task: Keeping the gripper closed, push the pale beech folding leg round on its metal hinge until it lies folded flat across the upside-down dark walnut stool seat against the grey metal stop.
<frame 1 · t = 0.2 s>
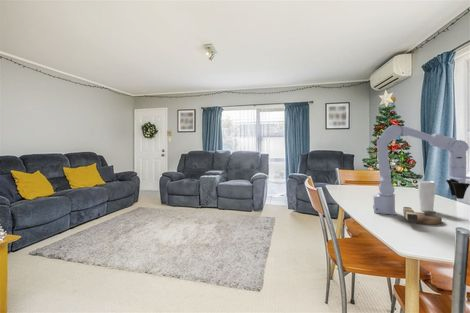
hand: (457, 196, 106), 10 cm above the table, tool pointing down, fingers open, 7 cm apart
drinking glass: (426, 211, 120), on the table
folding leg: (409, 214, 103), point 4 cm above the table, hinge at -90.0°
stool seat: (422, 220, 106), on the table
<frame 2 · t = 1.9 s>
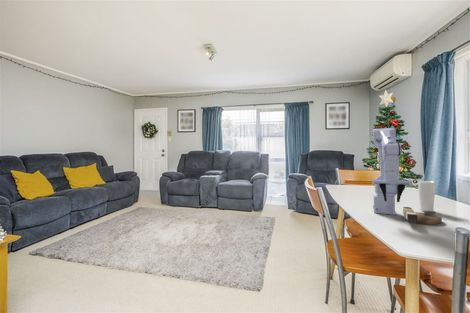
hand: (391, 201, 104), 9 cm above the table, tool pointing down, fingers open, 4 cm apart
nothing on the table moved.
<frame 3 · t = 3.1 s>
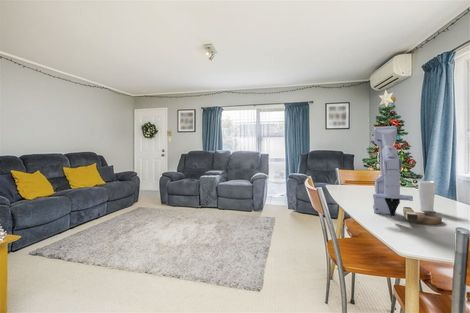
hand: (392, 215, 104), 3 cm above the table, tool pointing down, fingers closed
nothing on the table moved.
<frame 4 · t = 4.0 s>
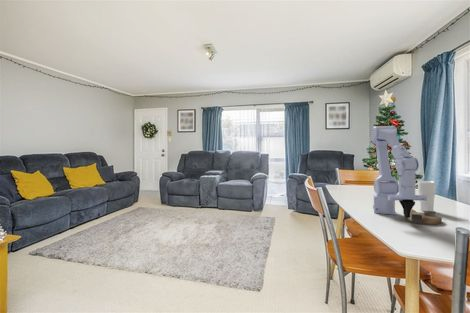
hand: (407, 217, 101), 3 cm above the table, tool pointing down, fingers closed, pressing on folding leg
folding leg: (411, 214, 103), point 4 cm above the table, hinge at -82.8°, touching gripper
everything else where it was.
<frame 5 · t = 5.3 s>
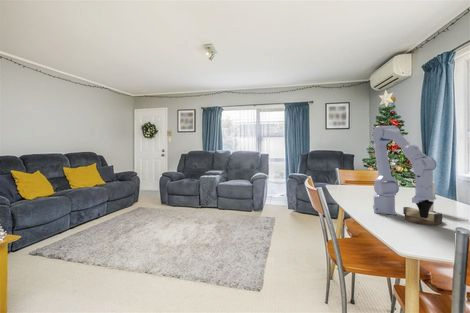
hand: (424, 217, 100), 3 cm above the table, tool pointing down, fingers closed, pressing on folding leg
folding leg: (420, 214, 103), point 4 cm above the table, hinge at -39.7°, touching gripper
everything else where it was.
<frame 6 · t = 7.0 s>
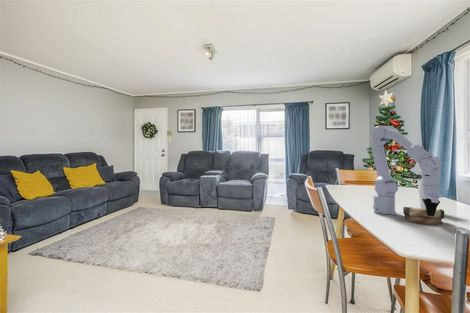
hand: (430, 215, 102), 3 cm above the table, tool pointing down, fingers closed
folding leg: (422, 212, 105), point 4 cm above the table, hinge at -0.4°, touching gripper
everything else where it was.
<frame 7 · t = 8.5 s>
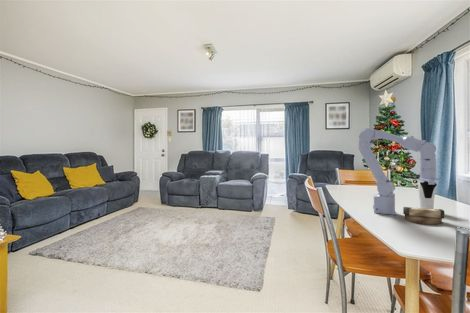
hand: (427, 197, 108), 9 cm above the table, tool pointing down, fingers closed
folding leg: (422, 212, 105), point 4 cm above the table, hinge at -0.1°
everything else where it was.
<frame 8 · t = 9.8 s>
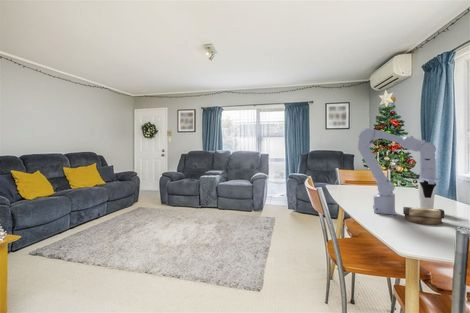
hand: (427, 197, 109), 9 cm above the table, tool pointing down, fingers closed
nothing on the table moved.
at the end: folding leg at +0° (first picture: -90°) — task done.
